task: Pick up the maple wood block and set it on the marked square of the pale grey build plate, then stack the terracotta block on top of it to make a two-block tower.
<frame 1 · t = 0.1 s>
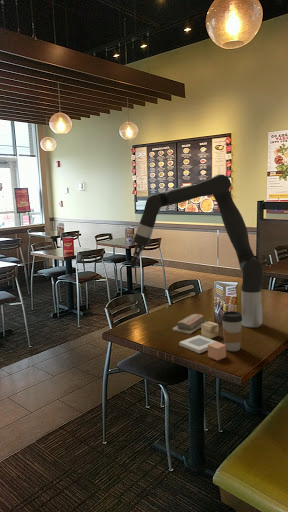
hand: (133, 266, 184), 31 cm above the table, tool tilted 20°, fingers open, 8 cm apart
packaged product: (190, 327, 187), on the table
terracotta block: (217, 356, 151), on the table
build plate: (199, 345, 163), on the table
maple block: (209, 335, 174), on the table
coffee cup: (232, 349, 158), on the table
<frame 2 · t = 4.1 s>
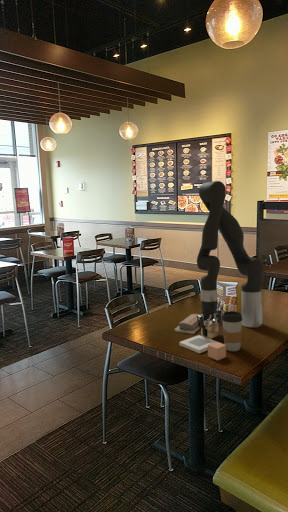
hand: (209, 334, 174), 1 cm above the table, tool pointing down, fingers closed on maple block, 5 cm apart
maple block: (209, 335, 174), on the table, touching gripper
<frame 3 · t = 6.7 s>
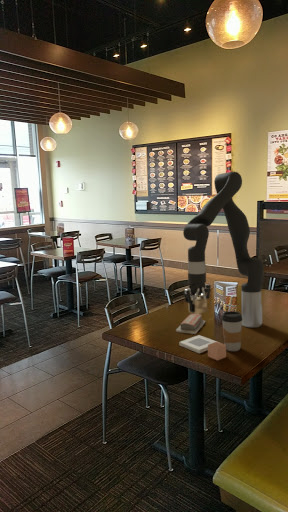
hand: (197, 310, 160), 16 cm above the table, tool pointing down, fingers closed on maple block, 5 cm apart
maple block: (197, 311, 160), point 15 cm above the table, touching gripper
when the fingers open (3 cm above the table, at t = 9.5 s): maple block stays where it is, resting on build plate.
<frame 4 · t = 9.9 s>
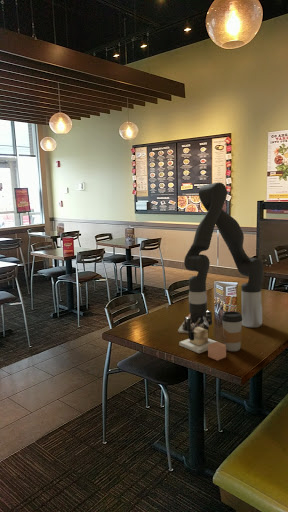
hand: (198, 337, 162), 4 cm above the table, tool pointing down, fingers open, 8 cm apart
maple block: (198, 342, 162), point 2 cm above the table, touching build plate
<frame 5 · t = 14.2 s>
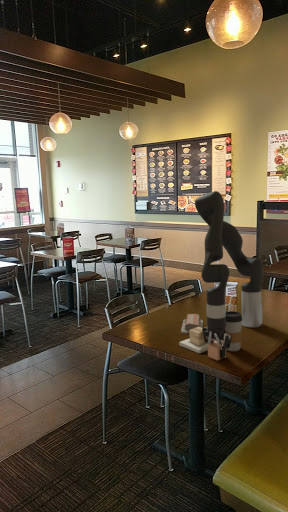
hand: (216, 355, 150), 0 cm above the table, tool pointing down, fingers closed on terracotta block, 5 cm apart
terracotta block: (217, 356, 150), on the table, touching gripper
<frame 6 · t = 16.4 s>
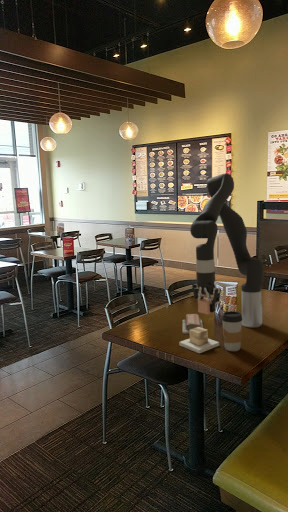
hand: (206, 310, 155), 17 cm above the table, tool pointing down, fingers closed on terracotta block, 5 cm apart
terracotta block: (207, 311, 155), point 16 cm above the table, touching gripper
when the fingers open (9 cm above the table, at t = 18.8 s): terracotta block drops 1 cm, resting on maple block.
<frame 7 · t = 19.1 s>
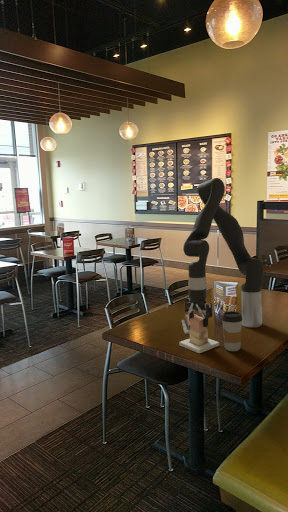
hand: (198, 324, 161), 9 cm above the table, tool pointing down, fingers open, 7 cm apart
terracotta block: (198, 329, 162), point 7 cm above the table, touching maple block
maple block: (198, 342, 162), point 2 cm above the table, touching build plate, terracotta block
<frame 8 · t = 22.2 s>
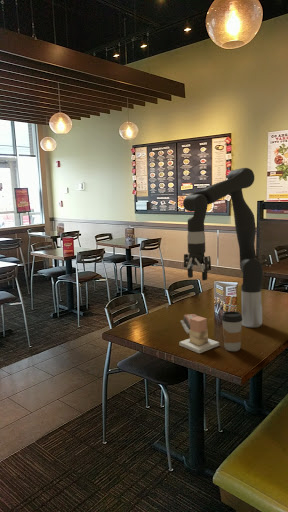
hand: (197, 278, 164), 28 cm above the table, tool pointing down, fingers open, 8 cm apart
at the end: maple block 0.0 cm off-centre on the build plate, point 1.5 cm above the build plate's base; terracotta block 0.1 cm off-centre on the maple block, point 5.5 cm above the maple block's base; terracotta block tilted 0° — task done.
